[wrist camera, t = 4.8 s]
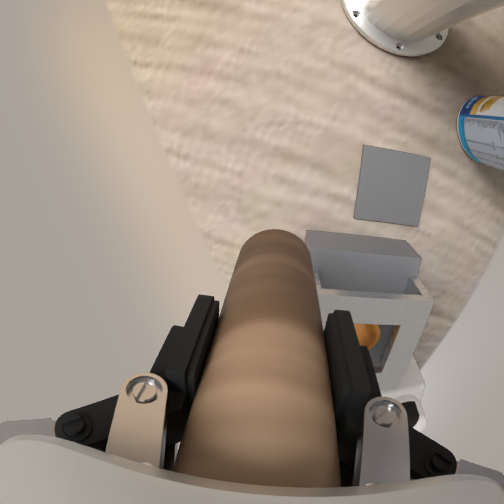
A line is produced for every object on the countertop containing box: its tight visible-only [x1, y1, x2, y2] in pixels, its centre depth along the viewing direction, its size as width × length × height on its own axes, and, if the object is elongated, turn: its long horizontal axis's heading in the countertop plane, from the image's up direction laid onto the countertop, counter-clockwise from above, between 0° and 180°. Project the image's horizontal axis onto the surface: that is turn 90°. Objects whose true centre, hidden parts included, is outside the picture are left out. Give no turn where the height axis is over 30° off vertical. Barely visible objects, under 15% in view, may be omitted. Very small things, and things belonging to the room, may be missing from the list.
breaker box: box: [305, 230, 422, 367], centre depth 34 cm, size 16×12×5 cm
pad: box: [353, 145, 431, 226], centre depth 31 cm, size 8×8×1 cm
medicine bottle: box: [380, 355, 427, 432], centre depth 36 cm, size 7×7×12 cm
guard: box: [313, 267, 435, 390], centre depth 30 cm, size 12×12×5 cm
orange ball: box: [354, 323, 380, 350], centre depth 32 cm, size 5×5×6 cm
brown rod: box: [172, 229, 341, 488], centre depth 10 cm, size 4×4×16 cm
